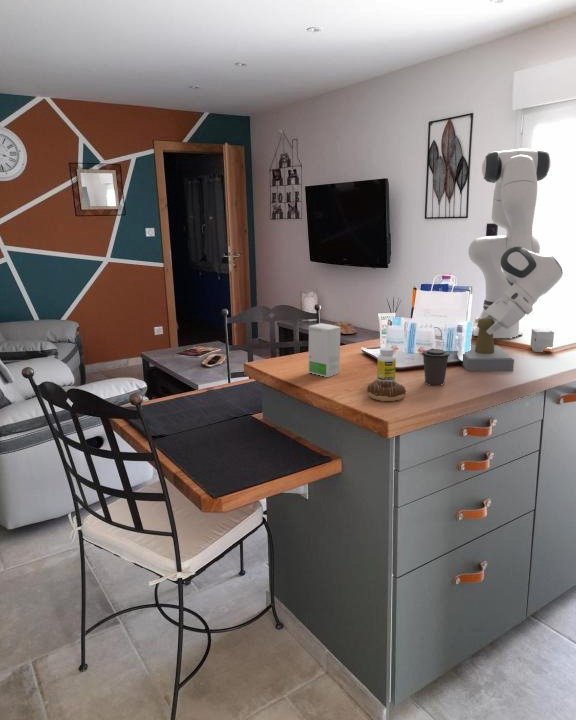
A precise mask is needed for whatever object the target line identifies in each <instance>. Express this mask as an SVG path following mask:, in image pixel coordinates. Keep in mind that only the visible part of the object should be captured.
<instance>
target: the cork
mask: <svg viewBox="0 0 576 720" xmlns="http://www.w3.org/2000/svg"><path fill="white" fill-rule="evenodd" d="M494 323H495V322H494V320H493V319H489V318H483V319H480V320H479V321H478V323H477V324H478V327H479V333H478V336H477V339H476V344H475V346H476V348H475V352H477V353H481V354H491V353H494V346H495V343H494V338H493V333H492V334H491V335H489V334H488V333H487V332H486V329H488V328H489V327H491V326H492V325H494Z"/></svg>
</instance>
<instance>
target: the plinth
mask: <svg viewBox="0 0 576 720" xmlns="http://www.w3.org/2000/svg"><path fill="white" fill-rule="evenodd" d="M470 346H471V350H470V351H468V352H465V354H463V364H462V366H463V367H464V368H465V371H467V372H514V366H515V359H514V358H513V357H512V356H511V355H509V354H508V353H507V352H506V351H505V350H504V349H503V348H502V347H501V346H499V345H494V353H491V354H481V353H477V352H475V348H476V345H470Z"/></svg>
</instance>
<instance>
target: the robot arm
mask: <svg viewBox="0 0 576 720" xmlns="http://www.w3.org/2000/svg"><path fill="white" fill-rule="evenodd" d="M550 168H551V157H550V154H549V152H548V151H547V150H545V149H542V148H541V149H540V148H536V149H533V148H532V149H531V148H530V149H529V148H517V149H510V150H509V149H508V150H502V151H498V150H496V151H491V152H488V153H487V155H486V156H485V157H484V160H483V162H482V165H481V172H482V173H481V174H482V176H483V179H484V180H485V181H486V182H487V183H492V184H495V186H494V190H493V200H492V208H491V220H492V222H493V223H494V224H495V225H496V226H499V227H500V228H502V229H505V230H506V235H505V234H504V235H487V236H481V237H477V238H474V239H473V240H472V241H471V243H470V244H469V246H468V252H467V253H468V257H469V260H470V261H471V262H472V263H473V264H474V265H476V266H477V267H478V268H479V270H480V271H481V273H482V275H483V277H484V281H485V299H484V301H483V305H482V306H483V307H482V308H483V310H482V311H481V313H480V315H479V316H477V317H475V320H474V322H475V324H477V325H476V326H472V336H474V337H478V333H479V327H478V321H479V320H480V319H483V318H489V319H493V320H494V322H495V323H494V325H492V326H491V327H489V328H488V329H486V332H487V333H488V334H489V335H491V334H492V333H493V339H494V338H509V339H512V338H511V337H515V336H517V337H519V336H518V335H522V336H523V332H521V331H520V320H522V319H523V318H524V317H525V316H526V315H529V314H531V313H532V312H533V310H534V309H533V306H534V305H535V304H536V303H537V302H538V300H539V299H540V297H542V296H543V295H545V294H547V293H548V292H549V291H550V290H551V289H552V288H553V287H555V285H556V284H557V283H558V282H559V281H560V279H561V278H562V277H563V268H562V266H561V265H560V263H559V261H558V260H557V259H556V257H554V256H552V255H550V254H540V252H541V251H540V250H541V247H540V242H539V241H538V239H537V238H536V237H535V236H534V235H533V224H534V218H535V211H536V210H535V209H536V205H537V195H538V182H540V181H542V180H543V179H545V178H546V177H547V176H548V173H549V171H550ZM515 338H516V337H515Z"/></svg>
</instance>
